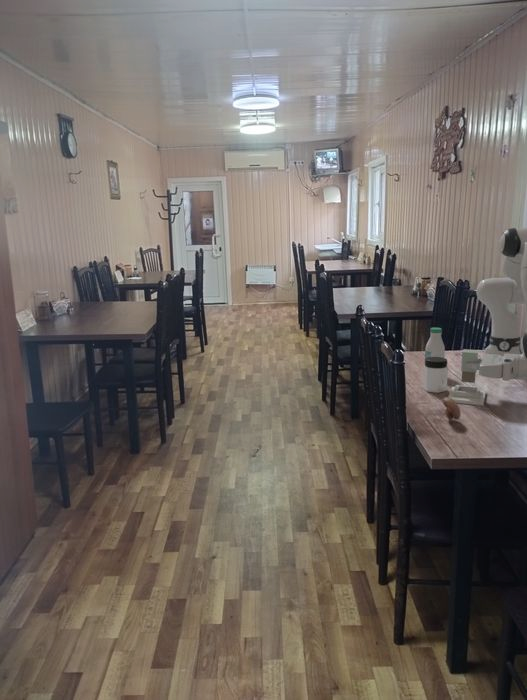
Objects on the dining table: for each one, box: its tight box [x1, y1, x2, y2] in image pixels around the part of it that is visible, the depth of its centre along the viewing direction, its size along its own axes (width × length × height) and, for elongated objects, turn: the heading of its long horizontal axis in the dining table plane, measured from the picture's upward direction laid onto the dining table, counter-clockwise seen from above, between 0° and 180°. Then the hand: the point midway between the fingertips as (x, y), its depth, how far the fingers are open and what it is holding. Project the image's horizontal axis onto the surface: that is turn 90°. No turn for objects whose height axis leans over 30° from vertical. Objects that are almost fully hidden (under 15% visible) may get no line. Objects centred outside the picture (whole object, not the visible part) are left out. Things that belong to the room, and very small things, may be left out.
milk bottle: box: [424, 327, 446, 359], centre depth 232 cm, size 8×8×20 cm
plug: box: [460, 348, 479, 384], centre depth 203 cm, size 5×5×11 cm
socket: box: [447, 384, 487, 406], centre depth 205 cm, size 16×12×3 cm
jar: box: [422, 357, 449, 394], centre depth 214 cm, size 9×8×12 cm
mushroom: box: [441, 396, 461, 422], centre depth 181 cm, size 8×6×8 cm
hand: (466, 363), depth 203 cm, fingers closed on plug, 5 cm apart
